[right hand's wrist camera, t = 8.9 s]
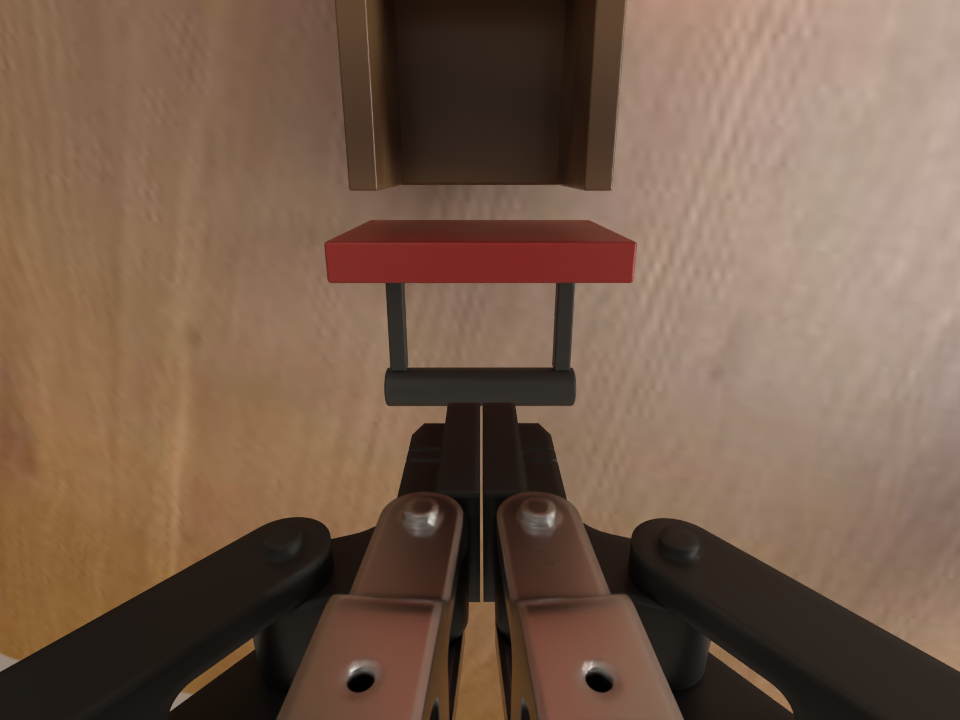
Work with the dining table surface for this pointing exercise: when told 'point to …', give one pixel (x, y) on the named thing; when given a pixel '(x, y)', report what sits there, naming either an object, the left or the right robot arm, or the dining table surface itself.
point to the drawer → (480, 163)
